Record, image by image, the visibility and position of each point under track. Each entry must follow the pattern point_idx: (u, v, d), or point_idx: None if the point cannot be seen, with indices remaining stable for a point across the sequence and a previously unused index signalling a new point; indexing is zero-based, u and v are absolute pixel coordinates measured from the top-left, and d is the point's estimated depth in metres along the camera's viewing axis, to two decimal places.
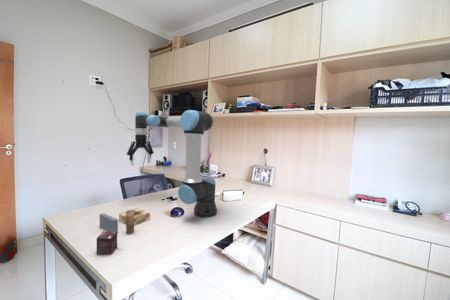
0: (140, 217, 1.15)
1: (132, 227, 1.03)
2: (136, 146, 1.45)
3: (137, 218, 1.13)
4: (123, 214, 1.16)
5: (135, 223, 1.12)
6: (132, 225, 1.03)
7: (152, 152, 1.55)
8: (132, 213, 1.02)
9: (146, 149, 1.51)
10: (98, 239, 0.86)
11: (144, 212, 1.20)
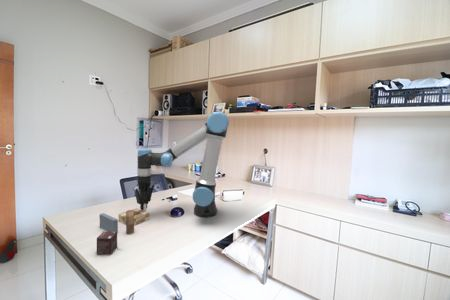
0: (140, 217, 1.14)
1: (132, 227, 1.03)
2: (141, 191, 1.21)
3: (136, 218, 1.13)
4: (122, 214, 1.16)
5: (134, 223, 1.12)
6: (132, 225, 1.03)
7: (149, 199, 1.25)
8: (132, 213, 1.02)
9: (145, 194, 1.23)
10: (98, 239, 0.86)
11: (144, 212, 1.20)
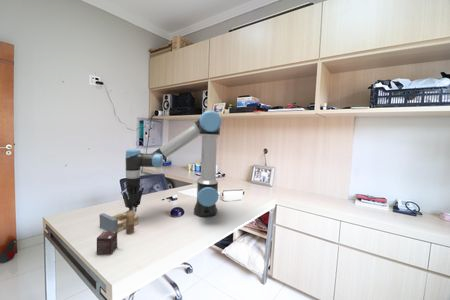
0: None
1: (132, 227, 1.03)
2: (130, 194, 1.15)
3: (124, 223, 1.07)
4: None
5: (122, 228, 1.06)
6: (132, 225, 1.03)
7: (138, 203, 1.18)
8: (132, 213, 1.02)
9: (134, 197, 1.17)
10: (98, 239, 0.86)
11: None
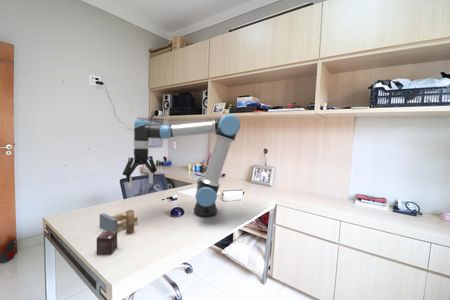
0: None
1: (132, 227, 1.03)
2: (135, 163, 1.14)
3: (123, 223, 1.06)
4: None
5: (121, 228, 1.06)
6: (132, 225, 1.03)
7: (155, 169, 1.25)
8: (132, 213, 1.02)
9: (148, 166, 1.21)
10: (98, 239, 0.86)
11: None
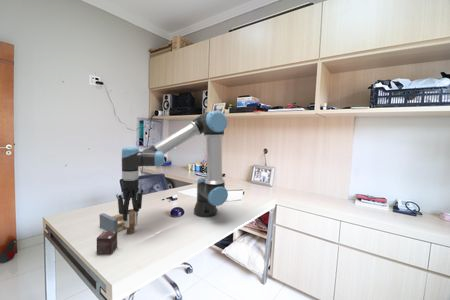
0: None
1: (132, 226, 1.03)
2: (126, 198, 1.01)
3: (123, 223, 1.06)
4: None
5: (121, 228, 1.06)
6: (132, 224, 1.03)
7: (139, 207, 1.06)
8: (132, 212, 1.02)
9: (134, 201, 1.04)
10: (98, 239, 0.86)
11: None
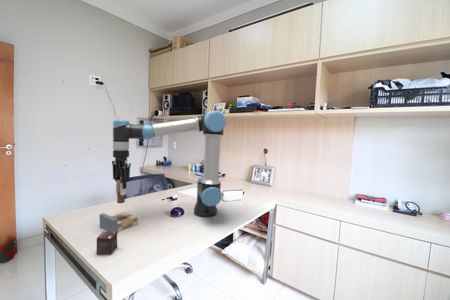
0: (127, 222, 1.08)
1: (118, 195, 1.09)
2: None
3: (123, 223, 1.06)
4: None
5: (121, 228, 1.06)
6: (118, 193, 1.09)
7: (123, 180, 1.06)
8: (117, 181, 1.08)
9: None
10: (98, 239, 0.86)
11: (131, 216, 1.13)
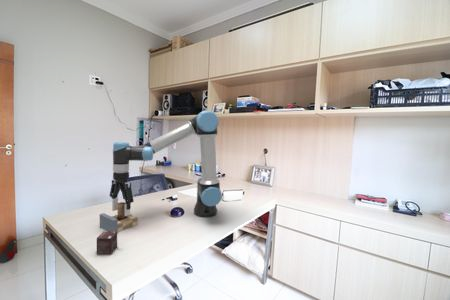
0: (127, 222, 1.08)
1: (118, 218, 1.10)
2: None
3: (123, 223, 1.06)
4: None
5: (121, 228, 1.06)
6: (118, 216, 1.10)
7: (128, 201, 1.05)
8: (118, 205, 1.09)
9: None
10: (98, 239, 0.86)
11: (131, 216, 1.13)
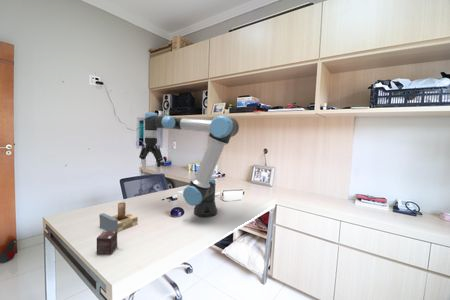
0: (127, 222, 1.08)
1: (118, 218, 1.10)
2: None
3: (123, 223, 1.06)
4: None
5: (121, 228, 1.06)
6: (118, 217, 1.10)
7: (158, 159, 1.27)
8: (118, 205, 1.09)
9: (154, 155, 1.30)
10: (98, 239, 0.86)
11: (131, 216, 1.13)
